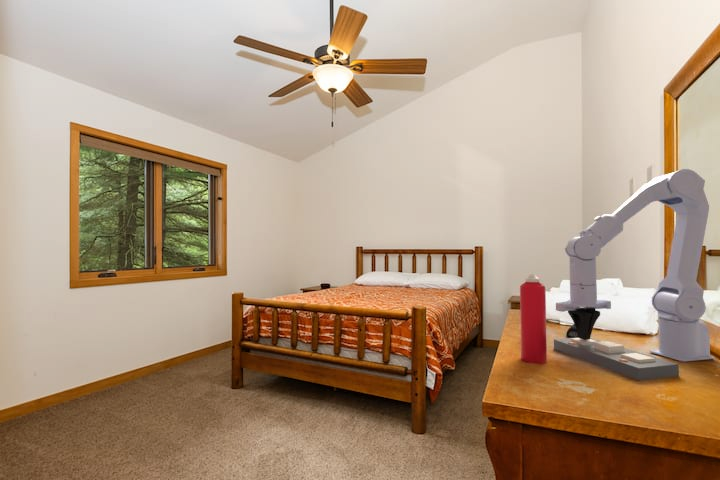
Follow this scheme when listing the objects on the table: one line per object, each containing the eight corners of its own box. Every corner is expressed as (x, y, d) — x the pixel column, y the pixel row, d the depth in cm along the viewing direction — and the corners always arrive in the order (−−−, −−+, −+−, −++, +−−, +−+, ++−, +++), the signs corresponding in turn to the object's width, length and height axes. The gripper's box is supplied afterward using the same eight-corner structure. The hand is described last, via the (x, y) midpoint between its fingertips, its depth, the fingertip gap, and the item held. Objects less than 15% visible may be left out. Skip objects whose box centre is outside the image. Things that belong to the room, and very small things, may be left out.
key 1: (584, 349, 94) (584, 337, 94) (597, 354, 90) (597, 341, 90) (571, 351, 93) (571, 338, 93) (584, 355, 89) (583, 342, 89)
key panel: (586, 346, 97) (586, 336, 97) (679, 376, 75) (678, 363, 75) (553, 349, 95) (553, 338, 95) (639, 380, 72) (638, 367, 73)
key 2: (636, 367, 80) (636, 352, 80) (654, 373, 76) (654, 358, 76) (621, 369, 79) (621, 354, 80) (639, 375, 76) (638, 359, 76)
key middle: (608, 354, 87) (608, 341, 87) (623, 359, 83) (623, 345, 83) (594, 355, 86) (594, 342, 86) (609, 360, 82) (609, 346, 82)
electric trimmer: (585, 330, 117) (585, 320, 117) (580, 340, 105) (580, 329, 105) (572, 329, 119) (572, 319, 119) (565, 338, 107) (565, 327, 107)
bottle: (549, 364, 83) (547, 275, 83) (522, 362, 84) (521, 275, 85) (544, 357, 88) (542, 274, 88) (519, 355, 90) (518, 273, 90)
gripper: (593, 281, 97) (595, 333, 97) (546, 283, 94) (547, 336, 94) (617, 284, 90) (619, 339, 90) (567, 286, 87) (568, 344, 87)
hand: (584, 338), depth 92 cm, fingers closed
